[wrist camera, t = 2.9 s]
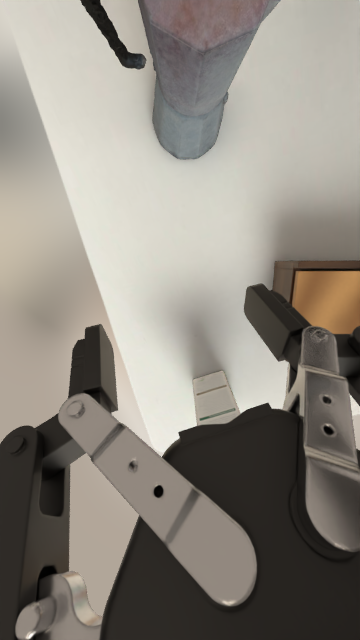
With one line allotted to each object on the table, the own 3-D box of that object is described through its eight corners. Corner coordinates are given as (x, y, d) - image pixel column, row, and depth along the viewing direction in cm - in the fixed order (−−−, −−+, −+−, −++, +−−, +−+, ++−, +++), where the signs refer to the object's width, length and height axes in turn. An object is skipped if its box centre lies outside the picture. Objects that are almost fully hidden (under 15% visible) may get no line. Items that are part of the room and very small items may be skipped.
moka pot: (242, 162, 31) (343, -12, 11) (130, 168, 31) (41, 13, 12) (244, 75, 28) (375, -332, 9) (123, 84, 29) (-4, -286, 9)
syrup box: (191, 378, 39) (195, 444, 25) (224, 368, 38) (247, 430, 24) (201, 406, 40) (210, 483, 26) (233, 396, 40) (260, 471, 25)
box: (396, 261, 33) (453, 260, 26) (378, 343, 37) (423, 362, 30) (275, 261, 34) (298, 260, 27) (267, 342, 37) (286, 361, 30)
